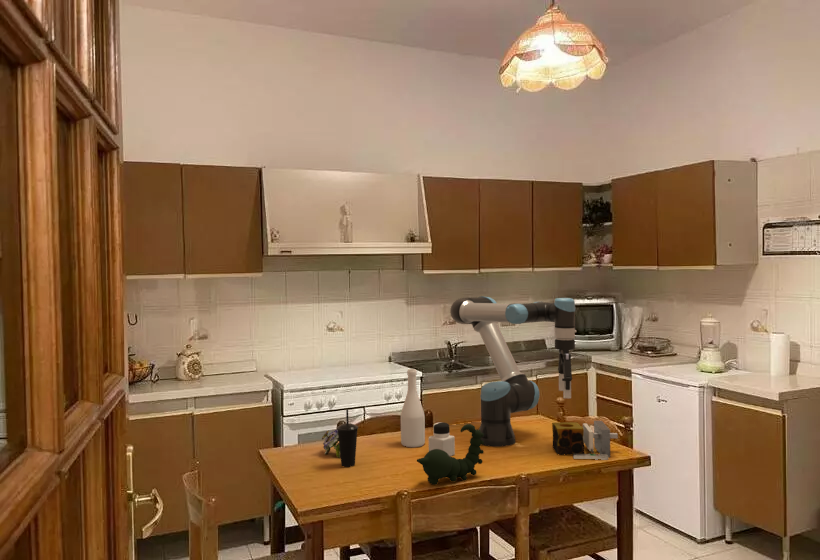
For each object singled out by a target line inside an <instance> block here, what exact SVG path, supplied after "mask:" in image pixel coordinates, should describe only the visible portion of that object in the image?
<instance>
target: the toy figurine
mask: <svg viewBox="0 0 820 560" xmlns="http://www.w3.org/2000/svg"><path fill="white" fill-rule="evenodd" d="M459 431H460V433H463V432H465V431H468V432H469V433H471V437H470V439H469V446H468V448H467V451H468V452H466V455H465V457H463V458H455V457H453V456H449V455H448V454H447V453H446V452H445V451H443V450H440V449H433V450H431V451H429V450H428V452H426V453H425V455H424V457H421V458H417V459H416V462H418V464H420V465H422V471H424V473H425V475H426V476H427V482H428V483H429V484H430V485H432V486H435V485H438V484H439V481H440V480H441V479H448V480H449V481H450V482H452V483H455V482H456V481H457V480H458V479H461V480H462V481H467V480H468V476H467V475H468V474H470V475H471V476H476V475H477V470H476V469H475V466H476V465H477V464H478V465H482V464H483V459H482V458H480V455H483V454H484V449H481V446H484V445H483V444H484V441H482V440H481V437H483V436H484V434H483V433H481V431H480V430H479V429H476V427H475V425H473V424H471V423H466V424H464V425H463V426H461V428H460V430H459Z"/></svg>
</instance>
